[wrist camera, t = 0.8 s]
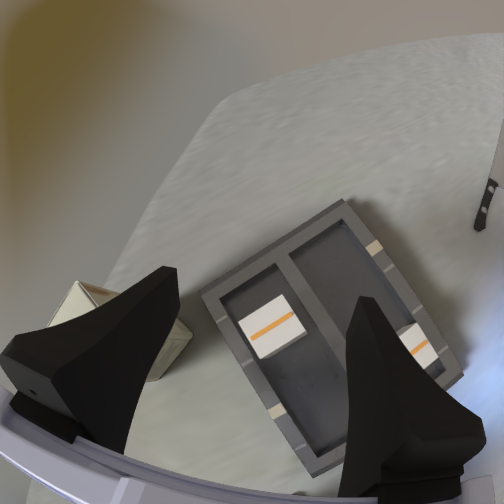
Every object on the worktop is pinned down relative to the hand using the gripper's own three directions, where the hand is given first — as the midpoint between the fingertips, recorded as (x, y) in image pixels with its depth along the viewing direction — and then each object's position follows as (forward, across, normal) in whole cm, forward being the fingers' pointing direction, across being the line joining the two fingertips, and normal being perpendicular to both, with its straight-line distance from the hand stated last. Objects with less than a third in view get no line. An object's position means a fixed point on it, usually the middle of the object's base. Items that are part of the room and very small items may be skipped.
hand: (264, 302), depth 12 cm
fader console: (+9, -5, +11) cm, 15 cm away
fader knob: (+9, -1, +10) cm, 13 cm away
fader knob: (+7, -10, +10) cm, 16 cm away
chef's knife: (+22, -24, -4) cm, 32 cm away
